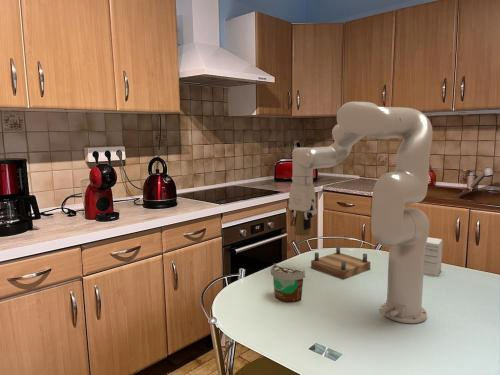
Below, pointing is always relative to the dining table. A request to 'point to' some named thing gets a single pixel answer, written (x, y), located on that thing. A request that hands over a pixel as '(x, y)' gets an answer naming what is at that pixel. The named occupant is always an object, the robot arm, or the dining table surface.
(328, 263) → the shelf board
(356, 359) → the dining table surface
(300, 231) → the brown rounded piece
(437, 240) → the supplement box
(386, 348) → the dining table surface
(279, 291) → the food container
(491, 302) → the dining table surface
